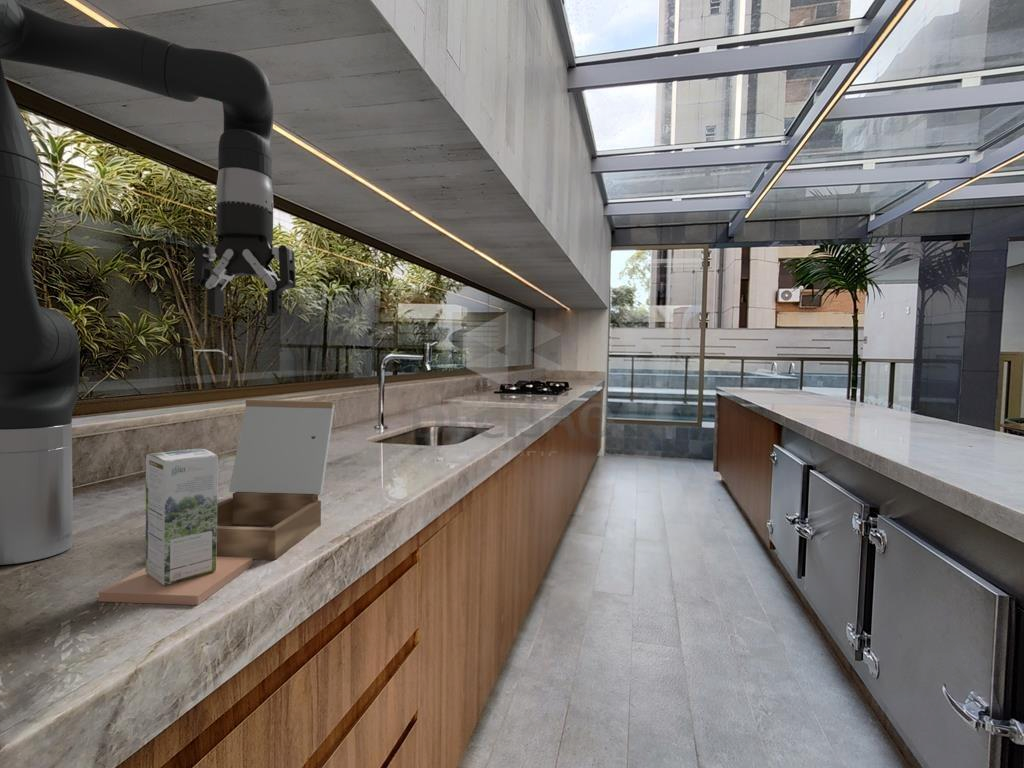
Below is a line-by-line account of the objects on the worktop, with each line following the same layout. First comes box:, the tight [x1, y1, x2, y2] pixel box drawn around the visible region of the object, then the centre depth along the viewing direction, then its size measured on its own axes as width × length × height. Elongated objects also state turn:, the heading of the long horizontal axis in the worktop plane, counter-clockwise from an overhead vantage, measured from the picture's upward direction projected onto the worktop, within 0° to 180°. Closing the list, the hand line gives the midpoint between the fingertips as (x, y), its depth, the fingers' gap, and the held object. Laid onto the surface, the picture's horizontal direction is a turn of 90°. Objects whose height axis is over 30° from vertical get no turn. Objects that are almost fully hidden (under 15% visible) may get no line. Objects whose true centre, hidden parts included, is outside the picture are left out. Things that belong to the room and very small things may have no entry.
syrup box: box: [145, 448, 219, 586], centre depth 61 cm, size 6×6×14 cm
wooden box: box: [217, 436, 322, 561], centre depth 78 cm, size 15×19×14 cm
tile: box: [98, 557, 254, 606], centre depth 61 cm, size 11×11×1 cm
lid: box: [228, 399, 336, 496], centre depth 86 cm, size 15×6×15 cm, turn 88°
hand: (245, 316), depth 77 cm, fingers open, 8 cm apart
